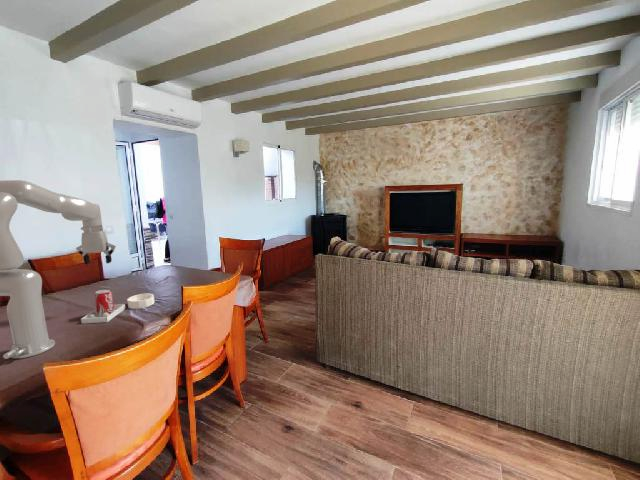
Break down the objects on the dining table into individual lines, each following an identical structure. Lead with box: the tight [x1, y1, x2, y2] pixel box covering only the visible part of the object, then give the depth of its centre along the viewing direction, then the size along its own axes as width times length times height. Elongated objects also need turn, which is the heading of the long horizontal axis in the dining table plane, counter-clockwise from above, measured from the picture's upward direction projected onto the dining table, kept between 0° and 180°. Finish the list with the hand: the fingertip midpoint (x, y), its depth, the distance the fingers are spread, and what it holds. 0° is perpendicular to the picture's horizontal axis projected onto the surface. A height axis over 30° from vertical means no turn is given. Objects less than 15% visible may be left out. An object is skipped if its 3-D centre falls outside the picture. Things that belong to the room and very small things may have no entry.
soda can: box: [94, 288, 115, 317], centre depth 144 cm, size 7×7×12 cm
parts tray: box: [80, 303, 126, 325], centre depth 144 cm, size 16×11×2 cm
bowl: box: [126, 292, 155, 310], centre depth 158 cm, size 12×12×4 cm
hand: (98, 263), depth 148 cm, fingers open, 9 cm apart
